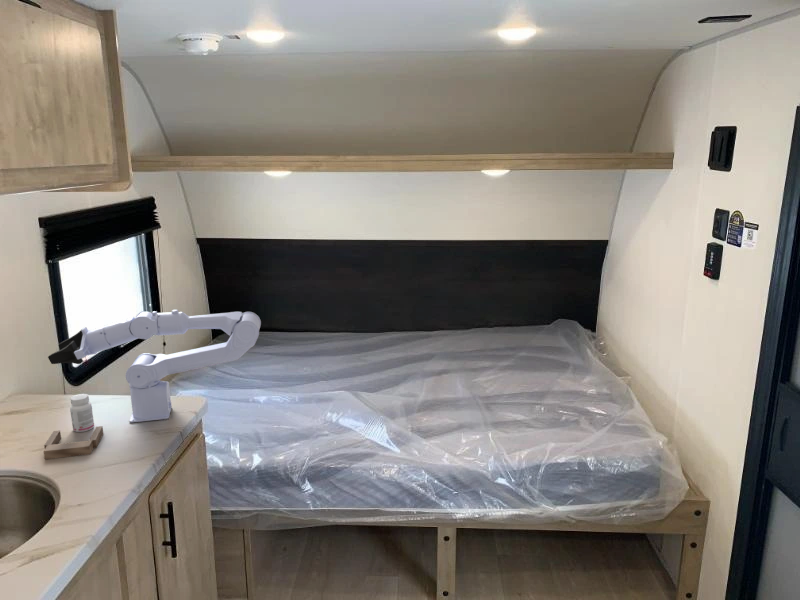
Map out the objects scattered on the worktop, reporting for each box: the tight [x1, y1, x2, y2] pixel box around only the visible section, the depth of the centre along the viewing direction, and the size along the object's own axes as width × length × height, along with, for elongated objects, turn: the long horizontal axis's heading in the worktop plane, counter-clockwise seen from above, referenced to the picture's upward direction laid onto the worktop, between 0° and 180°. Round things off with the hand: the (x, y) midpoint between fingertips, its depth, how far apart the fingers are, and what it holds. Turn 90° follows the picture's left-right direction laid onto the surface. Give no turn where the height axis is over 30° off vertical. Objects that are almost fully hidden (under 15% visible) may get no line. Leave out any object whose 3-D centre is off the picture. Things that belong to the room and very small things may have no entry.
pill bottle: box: [69, 393, 95, 433], centre depth 152 cm, size 5×5×8 cm
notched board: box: [43, 425, 104, 460], centre depth 143 cm, size 11×10×2 cm
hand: (55, 353), depth 152 cm, fingers open, 7 cm apart
